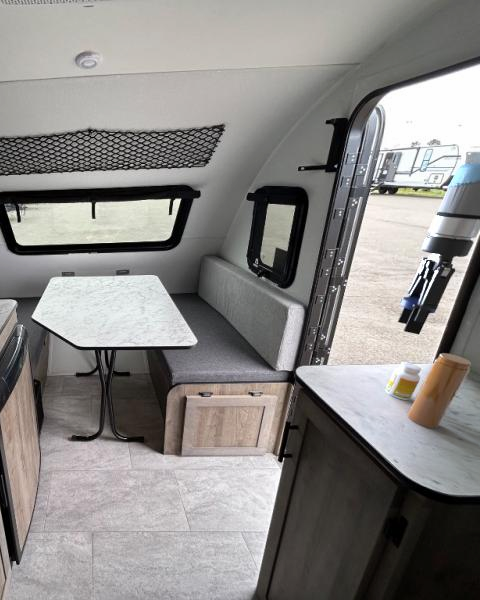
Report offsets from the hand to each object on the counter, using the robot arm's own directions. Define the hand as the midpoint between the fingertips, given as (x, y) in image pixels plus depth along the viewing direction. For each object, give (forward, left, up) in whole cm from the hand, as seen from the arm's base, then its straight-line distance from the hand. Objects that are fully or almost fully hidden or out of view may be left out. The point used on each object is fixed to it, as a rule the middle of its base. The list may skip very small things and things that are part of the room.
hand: (407, 327), depth 82 cm
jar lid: (0, 0, +7) cm, 7 cm away
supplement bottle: (-6, -8, -23) cm, 25 cm away
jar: (-9, +3, -23) cm, 25 cm away
